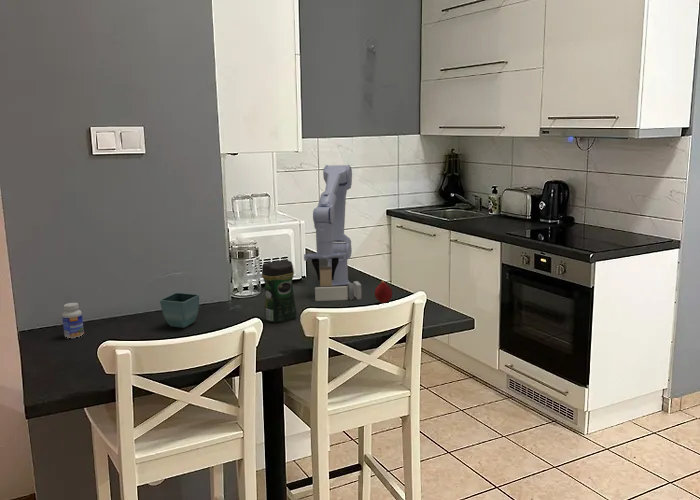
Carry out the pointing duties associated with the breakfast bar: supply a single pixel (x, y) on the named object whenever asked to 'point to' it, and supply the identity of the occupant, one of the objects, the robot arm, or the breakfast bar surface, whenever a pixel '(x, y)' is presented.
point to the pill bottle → (72, 321)
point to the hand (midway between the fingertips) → (325, 279)
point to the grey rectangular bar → (331, 293)
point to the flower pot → (180, 309)
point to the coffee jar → (279, 291)
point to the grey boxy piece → (354, 290)
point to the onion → (383, 292)
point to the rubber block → (325, 276)
